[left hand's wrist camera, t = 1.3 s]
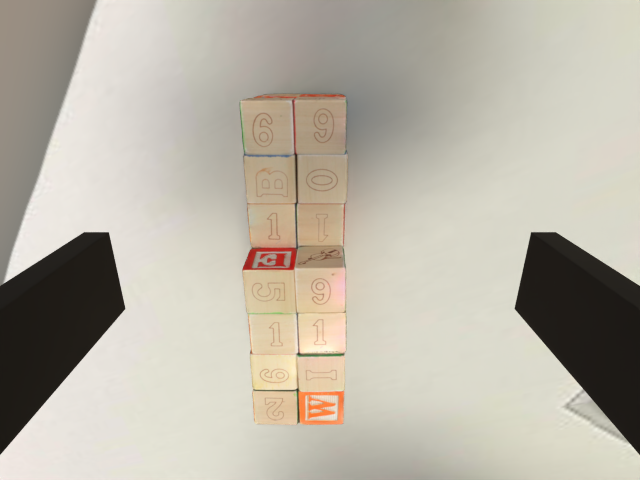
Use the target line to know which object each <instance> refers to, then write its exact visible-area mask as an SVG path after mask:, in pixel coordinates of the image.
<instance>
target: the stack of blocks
mask: <svg viewBox="0 0 640 480" xmlns="http://www.w3.org/2000/svg"><path fill="white" fill-rule="evenodd" d="M240 114H241V126H242V139H243V148H244V171H245V183H246V195H247V211H248V223H249V233H250V242H251V246H252V249H251V250H250V252H249V254H248V257H247V259H246V262H245V265H244V267H243V270H242V271H243V281H244V291H245V301H246V312H247V313H248V319H249V332H250V342H251V352H250V362H251V373H252V386H253V407H254V420H255V423H256V424H285V425H297V424H298V422H299V423H300V424H305V425H319V424H343V423H344V390H345V355H344V352H345V351H346V266H345V257H344V248H343V247H344V218H345V203H346V202H347V179H348V153H347V151H346V121H347V100H346V97H345V96H344V95H342V94H266V95H262V96H257V97H254V98H248V99H244V100H241V101H240Z"/></svg>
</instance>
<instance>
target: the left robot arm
mask: <svg viewBox="0 0 640 480" xmlns="http://www.w3.org/2000/svg"><path fill="white" fill-rule="evenodd" d="M124 310H125V305H124V300H123V296H122V291H121V287H120V282H119V277H118V273H117V268H116V263H115V259H114V254H113V250H112V245H111V240H110V236H109V232H84V233H82V234H81V235H79V236H78V237H76V238H75V239H73V240H71V241H70V242H68V243H67V244H65V245H64V246H62V247H61V248H59V249H57V250H56V251H54V252H53V253H51V254H50V255H48V256H46V257H45V258H43V259H42V260H40V261H39V262H37V263H35V264H34V265H32V266H31V267H29V268H28V269H26V270H24V271H23V272H21V273H20V274H18V275H17V276H15V277H14V278H12V279H10V280H9V281H7V282H6V283H4V284H3V285H1V286H0V454H1V453H2V452H3V451H4V450H5V449H6V447H7V446H8V445H9V444H10V443H11V442H12V440H13V439H14V438H15V437H16V436H17V435H18V433H19V432H20V431H21V430H22V429H23V428H24V426H25V425H26V424H27V423H28V422H29V421H30V419H31V418H32V417H33V416H34V415H35V414H36V412H37V411H38V410H39V409H40V408H41V407H42V405H43V404H44V403H45V402H46V401H47V400H48V398H49V397H50V396H51V395H52V394H53V393H54V391H55V390H56V389H57V388H58V387H59V386H60V384H61V383H62V382H63V381H64V380H65V379H66V377H67V376H68V375H69V374H70V373H71V372H72V370H73V369H74V368H75V367H76V366H77V365H78V363H79V362H80V361H81V360H82V359H83V358H84V356H85V355H86V354H87V353H88V352H89V351H90V349H91V348H92V347H93V346H94V345H95V344H96V342H97V341H98V340H99V339H100V338H101V337H102V335H103V334H104V333H105V332H106V331H107V330H108V328H109V327H110V326H111V325H112V324H113V323H114V321H115V320H116V319H117V318H118V317H119V316H120V314H121V313H122V312H123V311H124ZM515 310H516V311H517V312H518V313H519V314H520V316H521V317H522V318H523V319H524V320H525V321H526V323H527V324H528V325H529V326H530V327H531V328H532V330H533V331H534V332H535V333H536V334H537V335H538V337H539V338H540V339H541V340H542V341H543V342H544V344H545V345H546V346H547V347H548V348H549V349H550V351H551V352H552V353H553V354H554V355H555V356H556V358H557V359H558V360H559V361H560V362H561V363H562V365H563V366H564V367H565V368H566V369H567V370H568V372H569V373H570V374H571V375H572V376H573V377H574V379H575V380H576V381H577V382H578V383H579V384H580V386H581V387H582V388H583V389H584V390H585V391H586V393H587V394H588V395H589V396H590V397H591V398H592V400H593V401H594V402H595V403H596V404H597V405H598V407H599V408H600V409H601V410H602V411H603V412H604V414H605V415H606V416H607V417H608V418H609V419H610V421H611V422H612V423H613V424H614V425H615V426H616V428H617V429H618V430H619V431H620V432H621V433H622V435H623V436H624V437H625V438H626V439H627V440H628V442H629V443H630V444H631V445H632V446H633V447H634V449H635V450H636V451H637V452H638V453H639V454H640V286H639V285H637V284H636V283H634V282H633V281H631V280H630V279H628V278H626V277H625V276H623V275H622V274H620V273H619V272H617V271H616V270H614V269H612V268H611V267H609V266H608V265H606V264H605V263H603V262H601V261H600V260H598V259H597V258H595V257H594V256H592V255H590V254H589V253H587V252H586V251H584V250H583V249H581V248H579V247H578V246H576V245H575V244H573V243H572V242H570V241H569V240H567V239H565V238H564V237H562V236H561V235H559V234H558V233H556V232H531V236H530V240H529V245H528V250H527V254H526V259H525V263H524V268H523V273H522V277H521V282H520V287H519V291H518V296H517V300H516V305H515Z"/></svg>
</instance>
